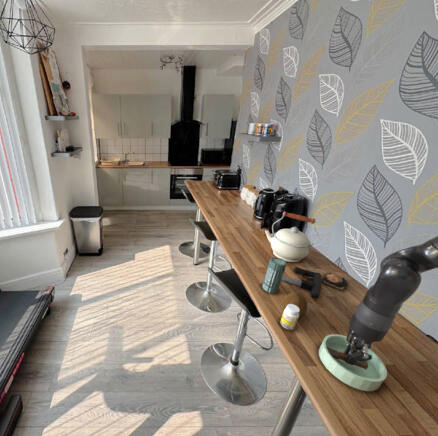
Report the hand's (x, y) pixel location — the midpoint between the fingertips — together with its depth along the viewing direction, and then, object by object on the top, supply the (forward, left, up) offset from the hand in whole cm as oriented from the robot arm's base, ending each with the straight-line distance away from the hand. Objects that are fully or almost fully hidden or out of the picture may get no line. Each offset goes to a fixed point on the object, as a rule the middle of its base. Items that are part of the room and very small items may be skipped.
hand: (348, 359), depth 73 cm
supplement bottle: (+16, -8, -2) cm, 19 cm away
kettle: (+18, -64, -2) cm, 67 cm away
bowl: (-1, 0, -2) cm, 2 cm away
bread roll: (-4, -49, -2) cm, 49 cm away
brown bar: (0, 0, 0) cm, 0 cm away
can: (+23, -27, -2) cm, 36 cm away
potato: (+14, -17, -2) cm, 22 cm away
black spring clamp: (+10, -40, -2) cm, 42 cm away
